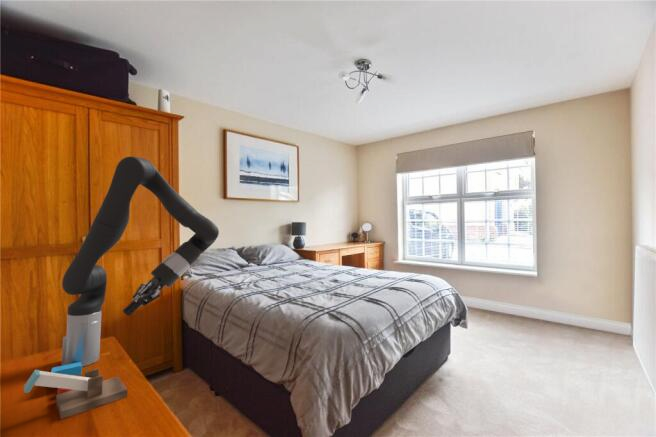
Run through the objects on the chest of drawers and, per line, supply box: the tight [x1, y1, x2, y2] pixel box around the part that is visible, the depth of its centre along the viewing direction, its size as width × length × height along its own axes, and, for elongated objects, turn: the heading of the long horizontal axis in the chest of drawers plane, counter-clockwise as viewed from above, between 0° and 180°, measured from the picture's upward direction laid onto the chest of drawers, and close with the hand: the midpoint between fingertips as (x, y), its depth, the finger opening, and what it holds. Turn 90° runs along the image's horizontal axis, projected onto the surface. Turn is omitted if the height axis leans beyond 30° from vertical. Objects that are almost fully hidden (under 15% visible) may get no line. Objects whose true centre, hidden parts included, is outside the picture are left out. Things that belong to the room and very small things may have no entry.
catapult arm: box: [23, 369, 90, 394], centre depth 78 cm, size 4×4×14 cm
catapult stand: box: [55, 368, 128, 420], centre depth 82 cm, size 14×10×7 cm
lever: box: [50, 362, 83, 395], centre depth 90 cm, size 7×7×18 cm
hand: (125, 313), depth 89 cm, fingers closed
